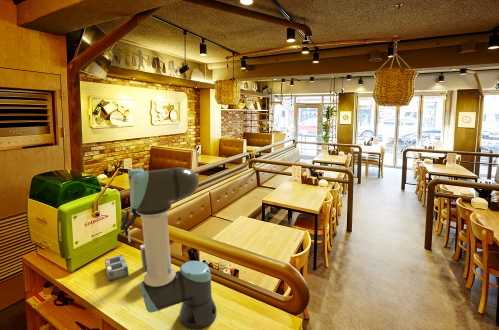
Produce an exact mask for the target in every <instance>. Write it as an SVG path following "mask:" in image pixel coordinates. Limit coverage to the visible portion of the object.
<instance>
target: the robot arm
mask: <svg viewBox="0 0 499 330" xmlns="http://www.w3.org/2000/svg"><path fill="white" fill-rule="evenodd" d="M127 173H128V174H127V175H128V176H127V178H128V184H129V201H130V207H131V209H130V210H128V209H126V210H125V215H124V218H123V220H122V221H121V224H120V230H121V231H124V235H125V237H127V239H128V240H127V241H128V243H131V242H132V240H131V232H130V227H131V225H132V224H133V223H134V222H135V220H136V219H137V218H141V225H142V226H141V227H142V234H143V244H144V246H145V255H146V265H147V272H145V274H144V275H143V280H142V281H141V282H139V287H140V291H141V294H142V295H141V296H142V298H143V301H144V305H145V309H146V311H147V312H148V313H156V312H160V311H161V310H163V309H168V308H170V307H172V306H176V305H179V304H181V305H180V310H179V322H180V324H181V325H182V327H184V328H186V329H188V330H202V329H205V328H207V327H208V326H210V325H212V324H213V323H214V321H215V320H216V318H217V311H218V310H217V306H216V303H215V301H214V299H213V295H212V274H211V268H210V267H209V265H208V264H207V263H205V262H203V261H200V260H190V261H186V262H184V263H183V264H181V266H180V267H179V270H177V271H176V270H175V268H173V267H172V259H171V247H170V245H171V244H170V235H169V234H170V233H169V221H168V212H169V211H170V210H171V209H172V202H176V201H181V200H184V199H186V198H189V197H191V196H192V195H193V194H194V193H195V192H196V191H197V190H198V188H199V184H200V181H199V180H200V179H199V176H198V175H197V173H196V172H195V171H194V170H192V169H189V168H186V167H171V168H162V169H154V170H144V168H139V167H138V168H132V169H130V170H128V172H127ZM131 214H132V215H131ZM130 215H131V217H130ZM129 217H130V219H129ZM128 219H129V220H128Z"/></svg>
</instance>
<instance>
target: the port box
mask: <svg viewBox="0 0 499 330" xmlns="http://www.w3.org/2000/svg"><path fill="white" fill-rule="evenodd" d="M104 265H105V270H106V274H107V278H108V281H109V283H111V282H113V281H116V280H119V279H122V278H126V277H129V275H130V274H129V269H128V268H129V267H128V264H127V262H126V259H125V256H124V254H120V255H117V256H113V257H108V258H105V259H104Z"/></svg>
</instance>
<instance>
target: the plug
mask: <svg viewBox="0 0 499 330" xmlns="http://www.w3.org/2000/svg"><path fill="white" fill-rule="evenodd" d="M139 248H140V255H141V257H140V258H141V264H142V269H143V271H146V270H145V266H146V255H145V246H144V243H143V244H140V247H139Z"/></svg>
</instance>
